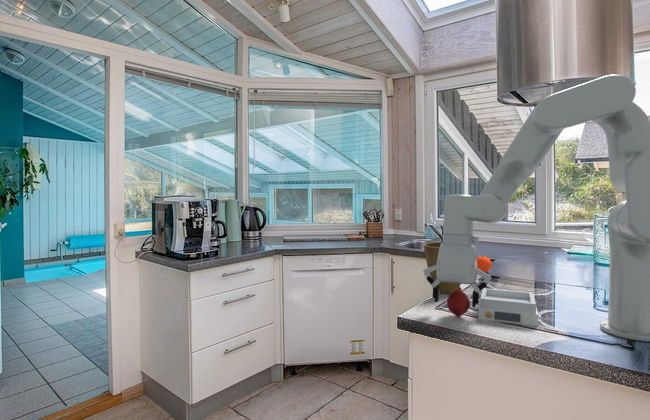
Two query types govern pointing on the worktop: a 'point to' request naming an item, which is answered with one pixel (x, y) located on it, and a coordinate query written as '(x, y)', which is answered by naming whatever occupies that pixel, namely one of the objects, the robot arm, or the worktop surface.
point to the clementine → (484, 263)
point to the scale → (508, 307)
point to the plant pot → (431, 260)
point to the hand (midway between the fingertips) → (455, 303)
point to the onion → (458, 302)
